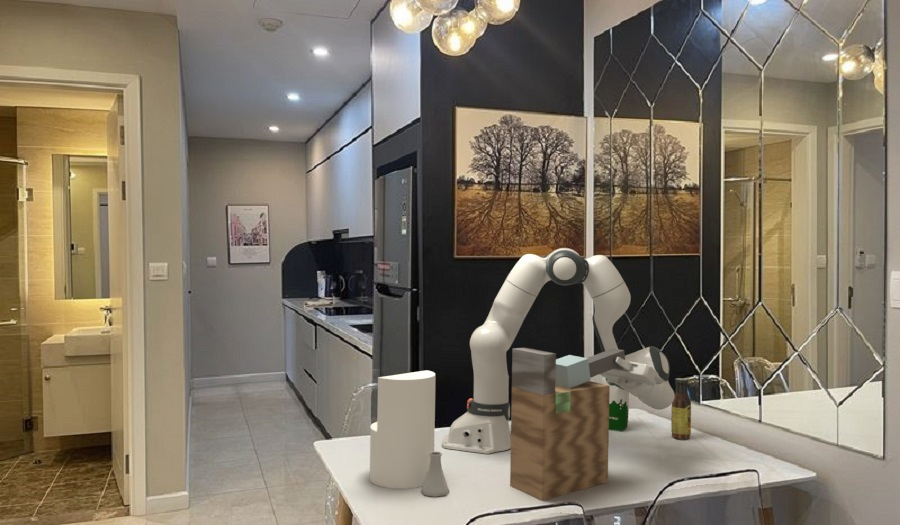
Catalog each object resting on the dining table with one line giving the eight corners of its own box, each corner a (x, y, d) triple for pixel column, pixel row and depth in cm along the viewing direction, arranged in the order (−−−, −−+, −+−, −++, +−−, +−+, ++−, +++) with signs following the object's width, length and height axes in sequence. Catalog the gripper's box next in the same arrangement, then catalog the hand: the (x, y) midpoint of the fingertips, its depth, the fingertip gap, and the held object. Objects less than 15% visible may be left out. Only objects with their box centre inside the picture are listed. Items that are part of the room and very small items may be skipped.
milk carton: (598, 428, 229) (599, 372, 228) (607, 423, 236) (608, 368, 236) (623, 432, 224) (624, 374, 224) (631, 427, 232) (632, 371, 231)
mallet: (569, 388, 168) (566, 366, 167) (550, 384, 174) (548, 362, 173) (629, 364, 182) (627, 343, 181) (610, 361, 187) (608, 341, 187)
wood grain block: (542, 500, 159) (545, 354, 159) (509, 485, 170) (511, 348, 169) (608, 482, 173) (611, 348, 173) (574, 469, 183) (576, 342, 183)
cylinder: (446, 478, 175) (448, 374, 174) (397, 493, 163) (399, 382, 162) (405, 462, 187) (407, 366, 187) (356, 476, 175) (358, 372, 175)
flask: (448, 487, 168) (449, 448, 168) (449, 497, 161) (450, 457, 160) (420, 487, 168) (421, 448, 167) (420, 497, 160) (421, 457, 160)
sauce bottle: (692, 441, 215) (693, 381, 215) (672, 439, 216) (673, 380, 216) (689, 435, 221) (690, 377, 221) (669, 434, 222) (670, 376, 222)
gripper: (662, 394, 179) (634, 373, 172) (605, 382, 196) (577, 362, 189) (669, 374, 181) (642, 352, 174) (612, 363, 198) (585, 343, 191)
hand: (608, 357), depth 182 cm, fingers closed on mallet, 4 cm apart
